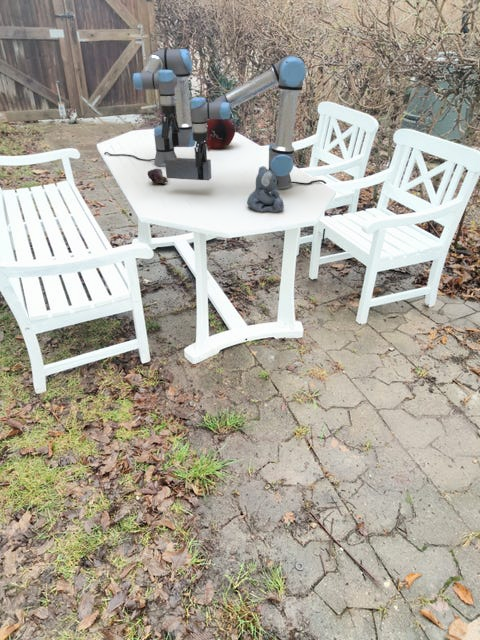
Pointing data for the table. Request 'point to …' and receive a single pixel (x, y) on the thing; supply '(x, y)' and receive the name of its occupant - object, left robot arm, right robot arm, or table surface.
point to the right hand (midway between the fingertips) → (202, 177)
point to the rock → (157, 176)
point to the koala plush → (265, 193)
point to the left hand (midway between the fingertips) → (172, 148)
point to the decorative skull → (219, 133)
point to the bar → (186, 168)
